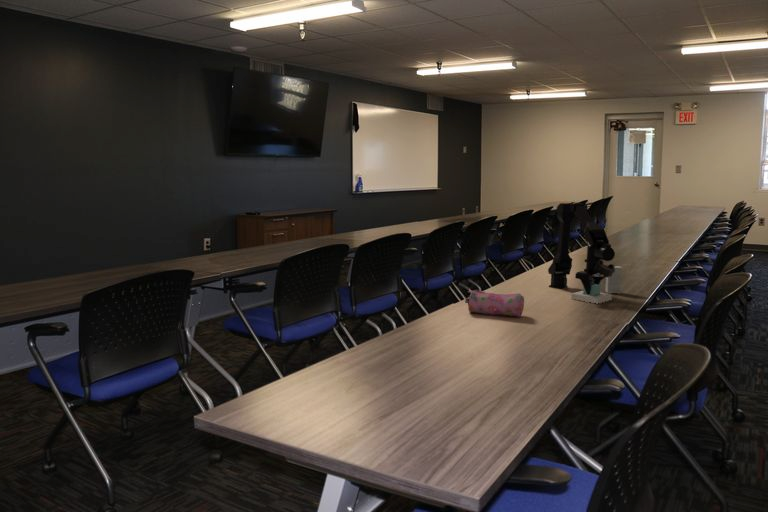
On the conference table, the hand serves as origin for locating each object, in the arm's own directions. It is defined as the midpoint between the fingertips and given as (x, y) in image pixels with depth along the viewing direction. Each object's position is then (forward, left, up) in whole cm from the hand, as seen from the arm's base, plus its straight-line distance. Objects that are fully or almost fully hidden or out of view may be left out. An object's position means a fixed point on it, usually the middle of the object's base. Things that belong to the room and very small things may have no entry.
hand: (591, 293), depth 259 cm
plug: (0, 0, -1) cm, 1 cm away
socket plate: (0, 0, -3) cm, 3 cm away
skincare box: (-1, +21, -3) cm, 21 cm away
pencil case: (-11, -53, -3) cm, 54 cm away
